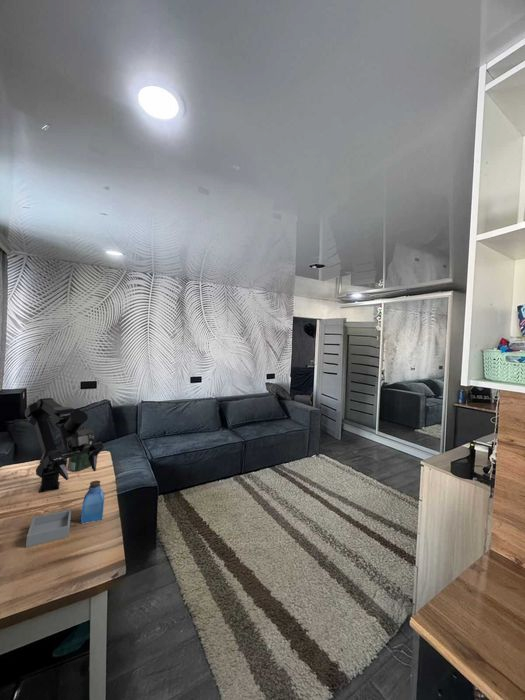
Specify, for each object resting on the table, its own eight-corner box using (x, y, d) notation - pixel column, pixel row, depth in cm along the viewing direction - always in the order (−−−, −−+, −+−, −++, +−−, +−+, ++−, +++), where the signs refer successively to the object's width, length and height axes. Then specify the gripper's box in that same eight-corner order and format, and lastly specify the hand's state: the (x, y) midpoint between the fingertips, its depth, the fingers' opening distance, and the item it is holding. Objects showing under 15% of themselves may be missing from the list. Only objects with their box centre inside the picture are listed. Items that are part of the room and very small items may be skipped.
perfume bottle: (80, 524, 91) (83, 488, 91) (83, 513, 96) (85, 480, 97) (102, 519, 94) (104, 485, 94) (103, 510, 99) (105, 477, 99)
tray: (32, 527, 87) (33, 517, 88) (70, 519, 93) (71, 509, 93) (25, 547, 79) (26, 536, 79) (68, 537, 84) (69, 526, 84)
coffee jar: (84, 462, 138) (87, 426, 138) (94, 466, 134) (97, 428, 135) (64, 469, 129) (67, 430, 129) (74, 473, 125) (77, 433, 126)
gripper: (49, 431, 94) (60, 473, 88) (104, 422, 110) (117, 456, 104) (38, 447, 98) (48, 488, 92) (92, 436, 114) (104, 470, 108)
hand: (81, 475), depth 99 cm, fingers open, 9 cm apart
